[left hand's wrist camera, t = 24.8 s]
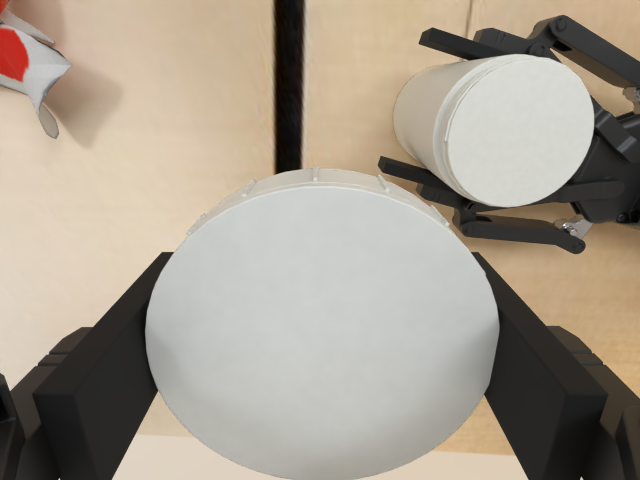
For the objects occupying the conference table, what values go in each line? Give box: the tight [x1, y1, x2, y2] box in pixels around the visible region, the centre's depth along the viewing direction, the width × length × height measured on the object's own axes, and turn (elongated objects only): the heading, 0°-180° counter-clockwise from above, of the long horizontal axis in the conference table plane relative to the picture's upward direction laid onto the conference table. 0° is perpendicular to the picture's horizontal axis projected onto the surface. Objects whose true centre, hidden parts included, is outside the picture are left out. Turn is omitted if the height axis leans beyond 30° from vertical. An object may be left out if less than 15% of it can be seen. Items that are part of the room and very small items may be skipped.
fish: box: [0, 0, 72, 139], centre depth 29 cm, size 11×16×10 cm
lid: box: [145, 165, 500, 480], centre depth 11 cm, size 9×9×2 cm
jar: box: [393, 54, 594, 208], centre depth 28 cm, size 8×8×15 cm
